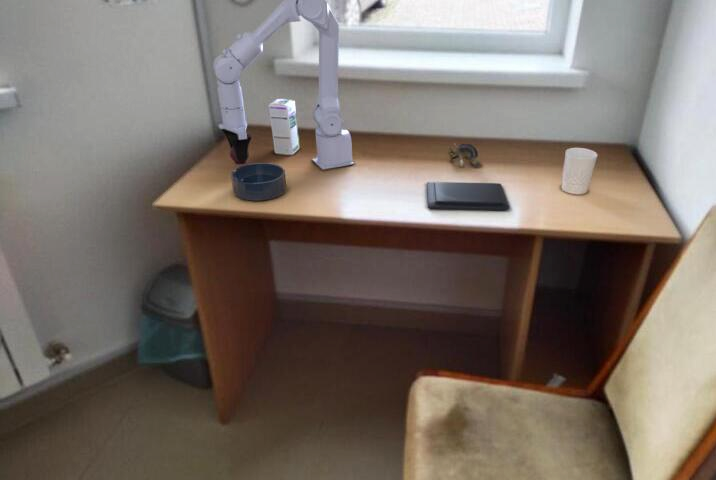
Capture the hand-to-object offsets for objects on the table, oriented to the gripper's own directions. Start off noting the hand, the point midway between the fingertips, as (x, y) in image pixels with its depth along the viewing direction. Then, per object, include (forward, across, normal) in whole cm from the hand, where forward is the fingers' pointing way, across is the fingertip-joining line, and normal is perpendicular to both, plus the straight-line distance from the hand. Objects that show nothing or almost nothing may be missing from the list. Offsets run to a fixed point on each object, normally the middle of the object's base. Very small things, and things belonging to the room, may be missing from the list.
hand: (239, 157), depth 148 cm
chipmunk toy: (+5, +21, +58) cm, 62 cm away
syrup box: (+4, -10, +16) cm, 19 cm away
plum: (+1, 0, 0) cm, 1 cm away
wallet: (+5, +40, +46) cm, 61 cm away
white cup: (+5, +48, +75) cm, 89 cm away
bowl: (+4, +14, +1) cm, 15 cm away
